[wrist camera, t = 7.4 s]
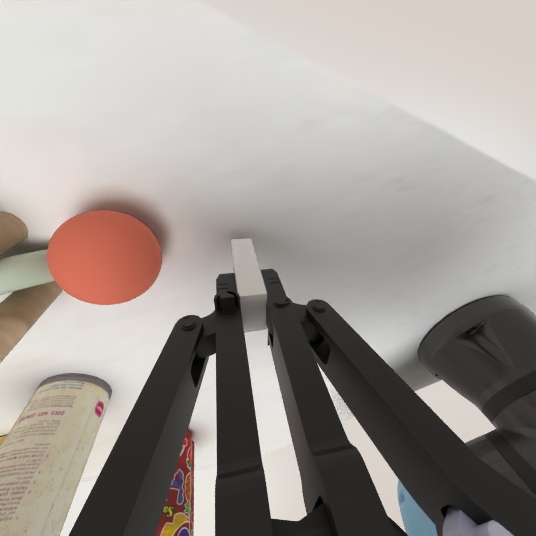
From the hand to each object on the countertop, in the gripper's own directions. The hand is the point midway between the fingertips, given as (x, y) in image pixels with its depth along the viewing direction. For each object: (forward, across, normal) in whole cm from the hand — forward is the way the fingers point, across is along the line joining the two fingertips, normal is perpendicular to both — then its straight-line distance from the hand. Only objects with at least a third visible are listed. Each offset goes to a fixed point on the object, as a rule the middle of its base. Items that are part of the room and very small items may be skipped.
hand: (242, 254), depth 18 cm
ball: (-1, +8, -1) cm, 9 cm away
